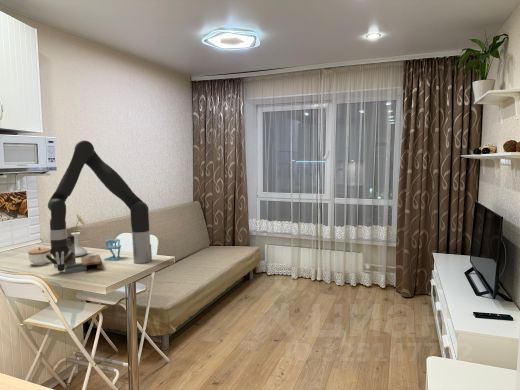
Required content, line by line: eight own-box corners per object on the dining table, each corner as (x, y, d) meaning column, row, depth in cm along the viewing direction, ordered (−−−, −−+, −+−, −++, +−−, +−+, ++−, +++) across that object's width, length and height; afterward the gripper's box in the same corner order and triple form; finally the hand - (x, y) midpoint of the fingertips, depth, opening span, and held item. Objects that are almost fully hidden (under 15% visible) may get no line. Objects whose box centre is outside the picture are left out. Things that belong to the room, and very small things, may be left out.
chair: (123, 256, 214) (122, 236, 213) (117, 260, 206) (116, 239, 205) (110, 257, 215) (109, 236, 214) (104, 260, 206) (102, 239, 205)
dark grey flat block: (86, 266, 195) (85, 262, 195) (86, 270, 188) (86, 266, 188) (64, 269, 190) (64, 265, 190) (65, 273, 183) (64, 269, 183)
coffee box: (58, 268, 193) (56, 238, 191) (53, 266, 197) (51, 237, 196) (76, 264, 200) (74, 235, 198) (71, 262, 204) (69, 234, 203)
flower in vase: (81, 257, 214) (78, 215, 211) (62, 258, 214) (59, 216, 212) (92, 252, 227) (89, 212, 224) (74, 252, 227) (71, 213, 225)
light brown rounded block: (99, 262, 202) (99, 254, 202) (102, 269, 188) (101, 261, 188) (81, 265, 198) (81, 256, 197) (83, 272, 184) (82, 263, 183)
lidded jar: (56, 261, 206) (54, 245, 205) (40, 267, 196) (38, 250, 195) (41, 260, 209) (39, 244, 208) (24, 266, 199) (23, 249, 198)
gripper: (73, 235, 191) (75, 267, 192) (44, 238, 184) (46, 271, 186) (73, 237, 184) (75, 271, 186) (43, 240, 178) (45, 275, 179)
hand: (61, 271), depth 186 cm, fingers closed
